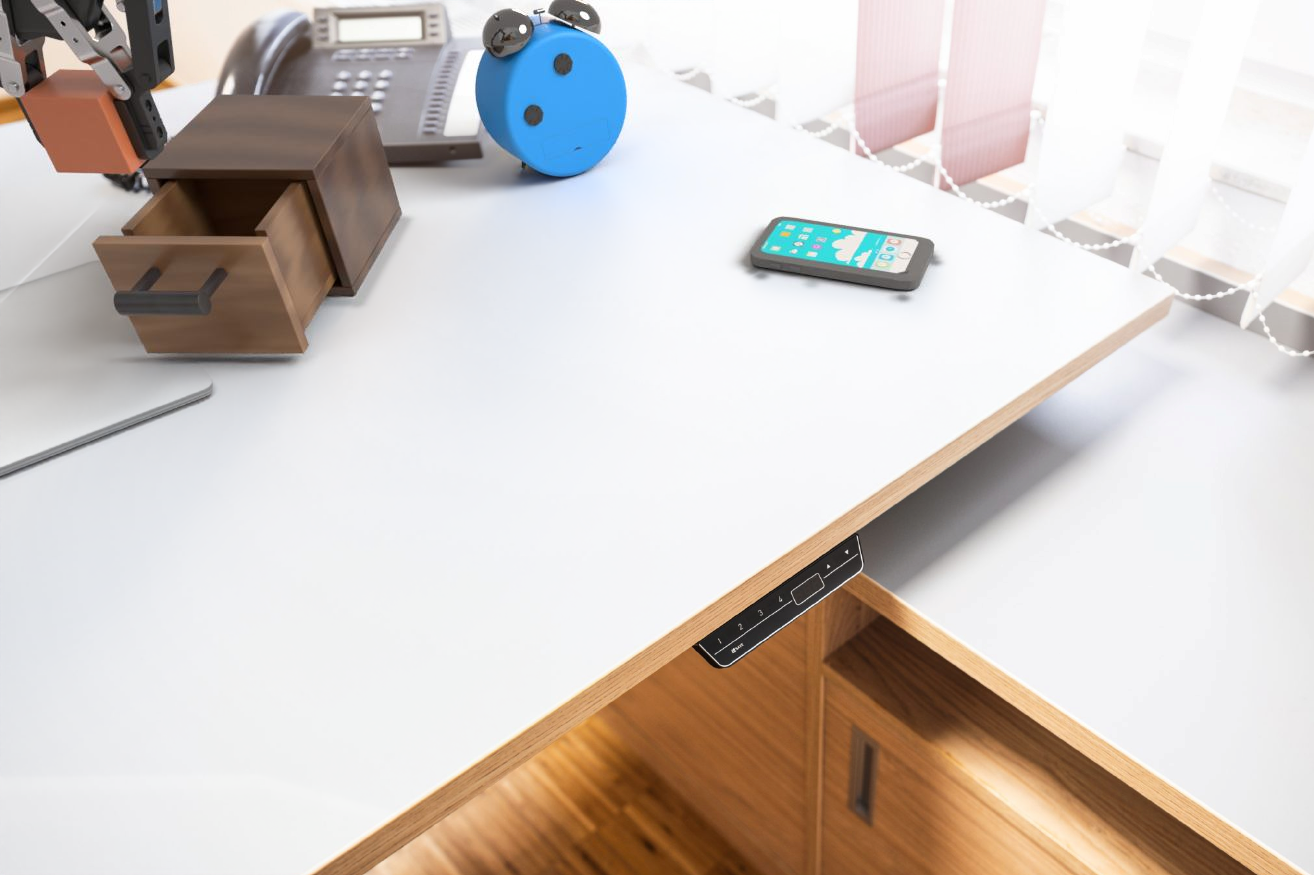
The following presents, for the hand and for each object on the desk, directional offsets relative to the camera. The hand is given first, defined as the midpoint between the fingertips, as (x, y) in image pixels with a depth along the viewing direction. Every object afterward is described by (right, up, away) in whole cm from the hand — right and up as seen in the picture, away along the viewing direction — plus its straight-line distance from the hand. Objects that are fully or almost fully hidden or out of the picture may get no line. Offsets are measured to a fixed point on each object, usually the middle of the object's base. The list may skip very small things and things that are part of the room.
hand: (109, 152), depth 65 cm
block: (0, 0, 0) cm, 0 cm away
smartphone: (+46, +1, +27) cm, 53 cm away
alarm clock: (+18, +13, +39) cm, 45 cm away
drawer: (0, -7, +16) cm, 17 cm away
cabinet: (-1, +1, +26) cm, 26 cm away
